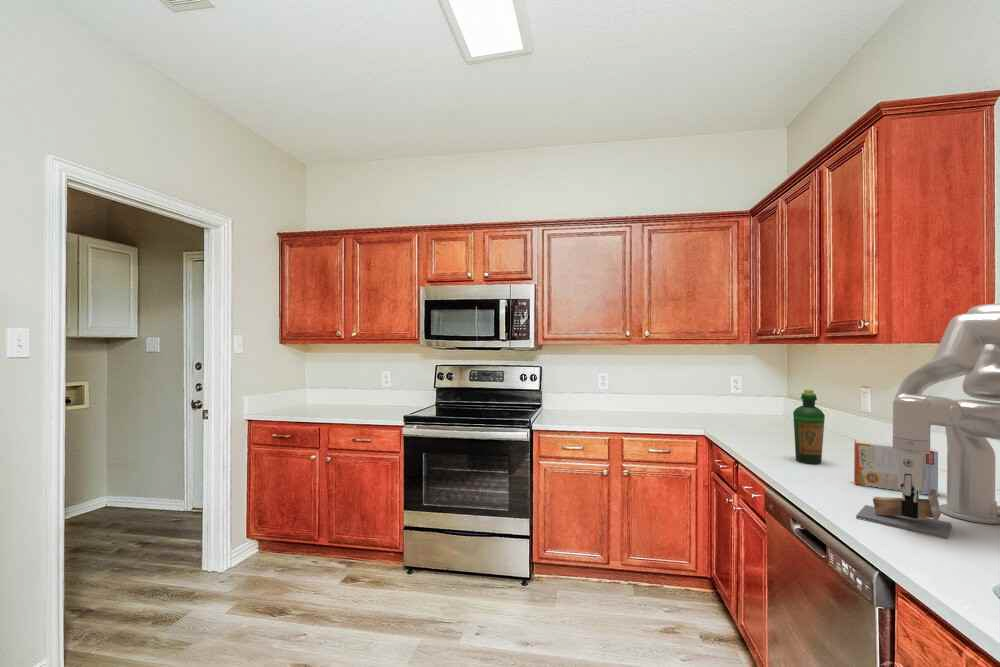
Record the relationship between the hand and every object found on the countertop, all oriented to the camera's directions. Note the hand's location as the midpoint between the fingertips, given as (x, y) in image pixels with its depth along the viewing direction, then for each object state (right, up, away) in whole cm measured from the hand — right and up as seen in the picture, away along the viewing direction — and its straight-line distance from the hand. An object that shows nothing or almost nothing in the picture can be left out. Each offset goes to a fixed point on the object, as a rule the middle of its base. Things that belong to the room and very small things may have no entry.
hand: (910, 515), depth 127 cm
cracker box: (+12, +4, +37) cm, 39 cm away
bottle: (+14, -3, +64) cm, 65 cm away
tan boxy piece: (0, 0, 0) cm, 1 cm away
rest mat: (-1, -2, +1) cm, 3 cm away
